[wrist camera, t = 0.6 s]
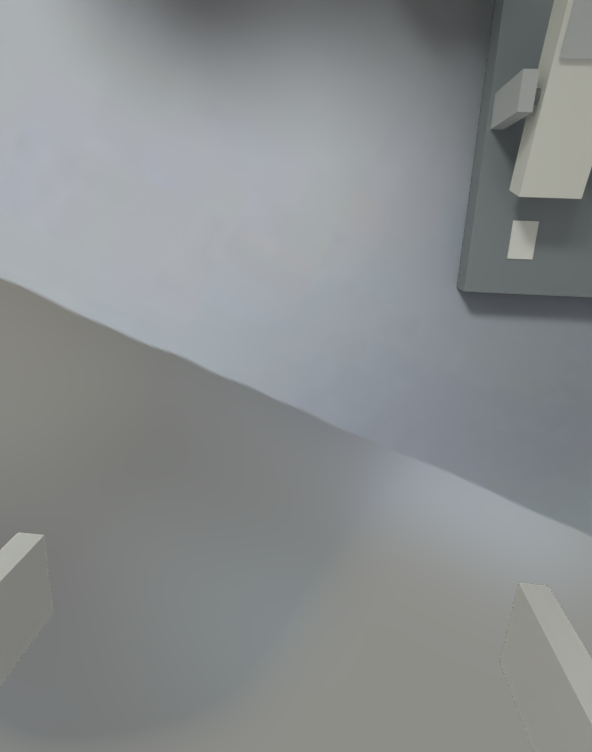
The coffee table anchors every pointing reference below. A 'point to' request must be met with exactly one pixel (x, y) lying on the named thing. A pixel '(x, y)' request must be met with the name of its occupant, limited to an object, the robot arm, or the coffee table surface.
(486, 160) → the panel
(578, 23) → the block
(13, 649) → the robot arm
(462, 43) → the coffee table surface
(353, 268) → the coffee table surface
